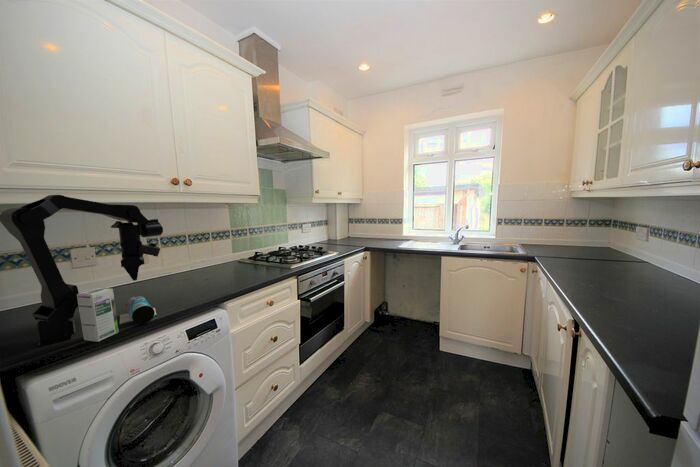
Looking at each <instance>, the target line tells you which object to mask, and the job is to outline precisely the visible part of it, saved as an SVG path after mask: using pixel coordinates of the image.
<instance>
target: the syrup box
mask: <svg viewBox="0 0 700 467" xmlns="http://www.w3.org/2000/svg"><path fill="white" fill-rule="evenodd" d="M77 300H78V310H79V311H78V312H79V317H80V323H81V330H82V337H83V340H84V341H89V342H96V343H97V342H98V343H99V342H101V341H102V340H105V339H107V338H110V337H112V336H114V335H116V334H118V333H119V331H120V329H119V325H118V323H119V322H118V318H117V317H118V316H117V309H116V308H117V307H116V303H115V302H116V301H115V295H114V289H113V288H111V287H98V288H94V289H90V290H87V291H83V292H79V294H77Z"/></svg>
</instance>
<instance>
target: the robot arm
mask: <svg viewBox="0 0 700 467" xmlns="http://www.w3.org/2000/svg"><path fill="white" fill-rule="evenodd" d="M60 210H67V211H75V212H81V213H82V212H83V213H88V214H96V215H103V216H106V217H108V218H111V219H114V220H116V221H115V222H114V223H113V224H112V225H111V226H110V228H111V229H118V234H119V242H120V243H119V244H120V251H121V260H120V266H121V268H124V270H125V271H126V272H127V274H128V275H129V277H130V278H131V279H132V281H137V280H138V276H139V275H138V274H139V269H140V266H142V265H145V258H144V255H147V256H153V257H158V256H159V254H160V252H161V247H159V246H156V243H153V242H150V243H149V244H143V241H141V237H142V238H151V237H158V236H159V237H160V236H162V234H163V231H164V227H163V225H162V224H161V223H160V222H159V219H158V218H152V219H147V217H146V216H145V215H143V213H142V212H141V210H140V208H139V207H138V206H137V205H134V204H112V203H111V204H109V203H103V202H99V201H92V200H86V199H81V198H76V197H69V196H65V195H62V194H49V195H46V196H45V197H43V198H41V199H38V200H35V201H33V202H29V203H28V204H25V205H22V206H20V207H11V208H7V209H5V210H3V211H2V212H1V214H0V224H1V225H2V226H3V228H5V229H6V230H7V231H8V233H9V234H10V235H11V236H13V238H14V239H16V240H17V242H19V243H20V245H21V247H22V250H23V251H24V253H25V255H26V258H27V260H28V261H29V263H30V266H31V268H32V270H33V272H34V273H35V276H36V279H37V281H38V282H39V284H40V286H41V290H40V300H41V305H40V306H39V307H38V308H37V309H36V310H35V311H34V312H33V313H31V316H32V318H33V319H34V321H37V323H36V324H37V331H38V339H39V342H38V344H37V345H38V346H37V347H41V346H42V347H43V346H46V345H51V344H54V343H58V342H62V341H66V340H70V339H72V338H73V336H74V335H75V333H76V332H77V330H76V322H75V319H74V316H75V313H76V312H75V311H76V309H78V308H79V306H78V300H77V294H79V293H80V292H79V289H78V286H77V285H76V284H69V283H66V282H65V280H64V279H63V277H62V274H61V272H60V269H59V268H58V265H57V263H56V260H55V258H54V257H53V255H52V252H51V250H50V247H49V245H48V243H47V241H46V239H45V233H46V232H45V231H46V224H45V220H46V219H48V218H50V217H52V216H54V214H56V213H57V212H59V211H60Z"/></svg>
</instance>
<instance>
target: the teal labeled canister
mask: <svg viewBox="0 0 700 467" xmlns="http://www.w3.org/2000/svg"><path fill="white" fill-rule="evenodd" d="M153 308H154V307H152V306H151V304H150V303H149V302H148V301H147V299H146V298H145V297H144V296H140V295H137V296H136V295H135V296H132V297H131V298H129V299H128V300H127V301H126V303H125V309H126V310H127V312H128V313H129V314H130V316H131V318H132V319H133V321H132V322H133V323H135V324H139V325H142V324H147V323H148V322H150V321H152V320H153V318H154V317H155V316H154V314H155V312H154V309H153Z"/></svg>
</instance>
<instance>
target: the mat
mask: <svg viewBox="0 0 700 467" xmlns="http://www.w3.org/2000/svg"><path fill="white" fill-rule="evenodd" d="M152 308H153V309H154V312H155V314H154V317H156V316H158V315H157V312H156V311H157V310H156V308H155V307H152ZM155 315H156V316H155ZM131 322H134V321H133V319H132V318H131V316H130V314H129V312H128V313H124V314H123V313H122V314H119V325H121V324H126V323H131Z"/></svg>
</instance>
